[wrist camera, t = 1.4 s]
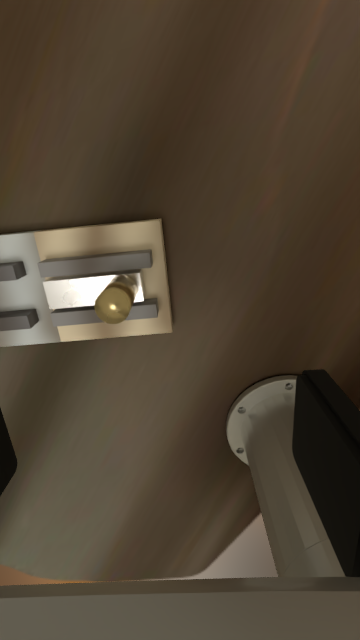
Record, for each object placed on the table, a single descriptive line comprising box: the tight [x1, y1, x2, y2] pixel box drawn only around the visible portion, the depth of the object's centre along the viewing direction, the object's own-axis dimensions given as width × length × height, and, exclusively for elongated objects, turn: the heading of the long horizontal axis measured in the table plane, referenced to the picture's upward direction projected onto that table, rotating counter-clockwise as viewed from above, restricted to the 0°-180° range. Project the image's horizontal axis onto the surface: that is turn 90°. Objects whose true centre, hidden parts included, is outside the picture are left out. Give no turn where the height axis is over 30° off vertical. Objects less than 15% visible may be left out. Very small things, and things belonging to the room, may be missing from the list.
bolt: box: [43, 269, 145, 324], centre depth 24 cm, size 8×2×6 cm, turn 95°
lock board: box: [0, 219, 173, 347], centre depth 28 cm, size 21×10×4 cm, turn 95°
